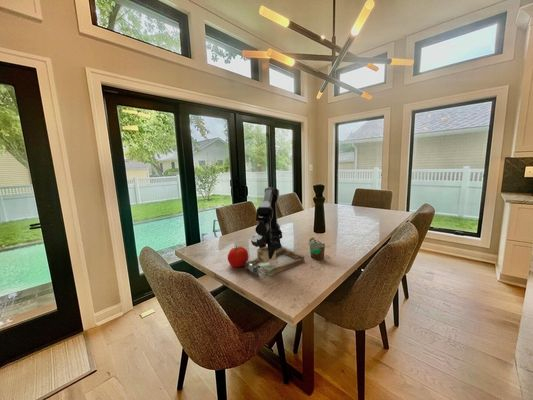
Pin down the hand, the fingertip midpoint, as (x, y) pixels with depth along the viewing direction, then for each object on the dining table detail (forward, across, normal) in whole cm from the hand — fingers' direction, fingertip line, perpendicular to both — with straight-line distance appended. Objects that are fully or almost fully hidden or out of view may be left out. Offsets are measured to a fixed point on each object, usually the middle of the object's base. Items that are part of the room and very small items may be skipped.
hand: (266, 257), depth 119 cm
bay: (+5, 0, +6) cm, 8 cm away
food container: (+6, +9, +28) cm, 30 cm away
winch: (+5, +1, -9) cm, 10 cm away
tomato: (+6, -12, -11) cm, 17 cm away
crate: (+1, 0, 0) cm, 1 cm away
